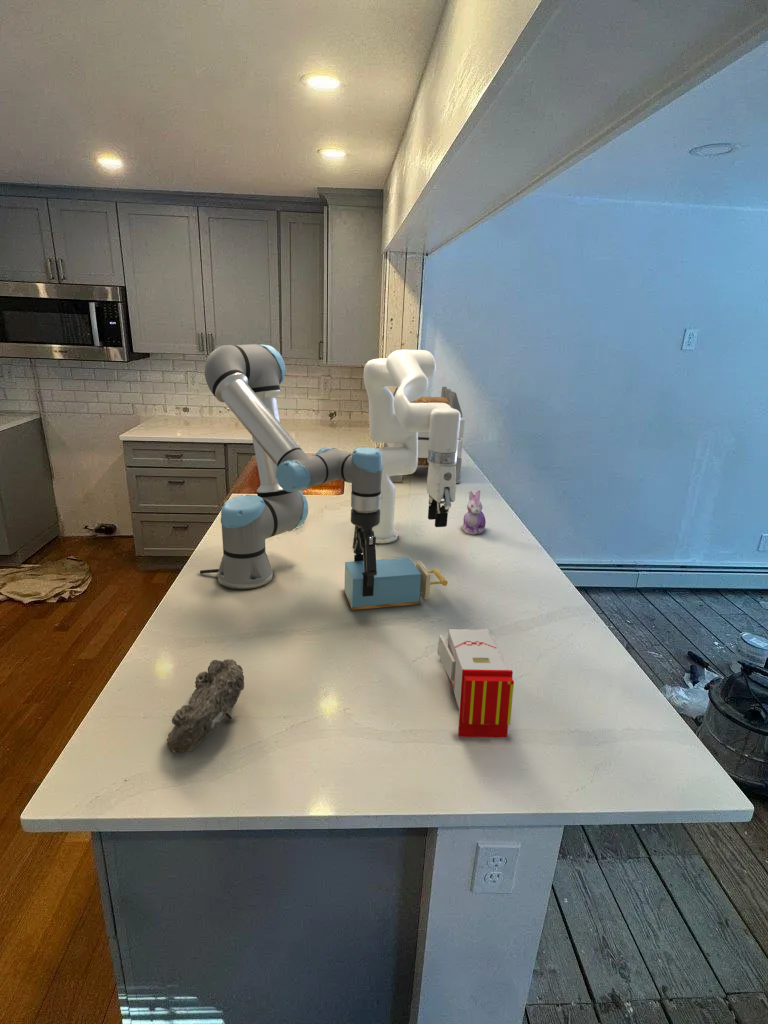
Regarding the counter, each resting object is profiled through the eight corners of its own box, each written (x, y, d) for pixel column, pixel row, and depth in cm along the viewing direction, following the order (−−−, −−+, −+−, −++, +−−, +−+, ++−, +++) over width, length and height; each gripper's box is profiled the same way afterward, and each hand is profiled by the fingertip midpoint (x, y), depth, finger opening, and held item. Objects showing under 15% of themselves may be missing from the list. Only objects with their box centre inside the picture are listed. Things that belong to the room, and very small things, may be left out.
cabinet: (407, 586, 163) (409, 557, 160) (418, 604, 153) (421, 573, 150) (344, 591, 158) (344, 561, 155) (351, 610, 148) (352, 579, 145)
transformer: (382, 463, 289) (386, 382, 275) (445, 464, 293) (451, 384, 279) (390, 482, 257) (394, 392, 243) (460, 483, 261) (468, 394, 247)
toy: (488, 613, 130) (523, 677, 101) (484, 667, 133) (517, 744, 104) (435, 612, 130) (455, 676, 101) (432, 666, 133) (451, 743, 103)
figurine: (471, 536, 200) (475, 496, 195) (454, 527, 208) (458, 488, 203) (492, 533, 204) (497, 493, 199) (475, 523, 212) (479, 485, 207)
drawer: (436, 581, 164) (438, 559, 161) (447, 597, 155) (449, 573, 153) (359, 588, 158) (360, 564, 156) (366, 604, 150) (367, 580, 147)
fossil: (192, 660, 117) (244, 628, 112) (224, 691, 120) (276, 661, 115) (142, 746, 98) (202, 712, 93) (182, 779, 101) (242, 748, 96)
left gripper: (391, 523, 136) (387, 605, 143) (369, 494, 157) (367, 566, 164) (361, 525, 134) (358, 607, 141) (342, 495, 155) (341, 568, 162)
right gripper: (468, 465, 139) (462, 533, 145) (444, 448, 154) (439, 511, 161) (439, 465, 137) (434, 535, 143) (418, 449, 153) (414, 512, 159)
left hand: (363, 585), depth 153 cm, fingers closed on cabinet, 11 cm apart
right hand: (437, 522), depth 152 cm, fingers open, 4 cm apart
